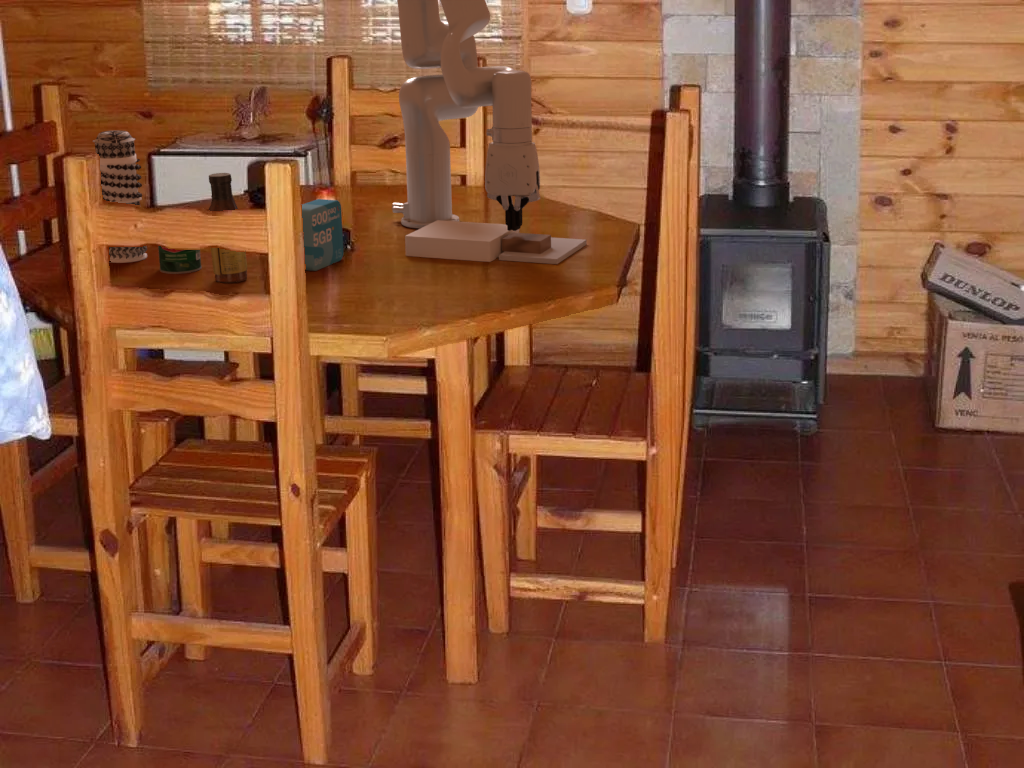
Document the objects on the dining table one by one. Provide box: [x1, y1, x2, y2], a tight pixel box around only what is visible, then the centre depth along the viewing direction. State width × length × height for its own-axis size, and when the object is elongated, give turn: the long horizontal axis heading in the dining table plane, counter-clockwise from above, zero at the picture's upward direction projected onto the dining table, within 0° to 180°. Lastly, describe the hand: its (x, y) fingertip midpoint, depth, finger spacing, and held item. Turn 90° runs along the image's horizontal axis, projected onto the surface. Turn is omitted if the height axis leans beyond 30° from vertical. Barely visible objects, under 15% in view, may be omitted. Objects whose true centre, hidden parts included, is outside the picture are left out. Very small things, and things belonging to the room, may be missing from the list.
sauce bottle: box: [208, 172, 248, 284], centre depth 274 cm, size 6×6×20 cm
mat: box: [498, 236, 587, 265], centre depth 295 cm, size 12×18×1 cm, turn 159°
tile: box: [502, 232, 552, 254], centre depth 293 cm, size 8×6×2 cm
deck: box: [404, 220, 520, 263], centre depth 297 cm, size 18×16×4 cm
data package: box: [301, 198, 344, 272], centre depth 286 cm, size 12×4×12 cm, turn 156°
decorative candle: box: [92, 130, 148, 264], centre depth 292 cm, size 9×9×25 cm
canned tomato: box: [157, 245, 202, 275], centre depth 284 cm, size 8×8×11 cm
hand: (514, 229), depth 292 cm, fingers closed
